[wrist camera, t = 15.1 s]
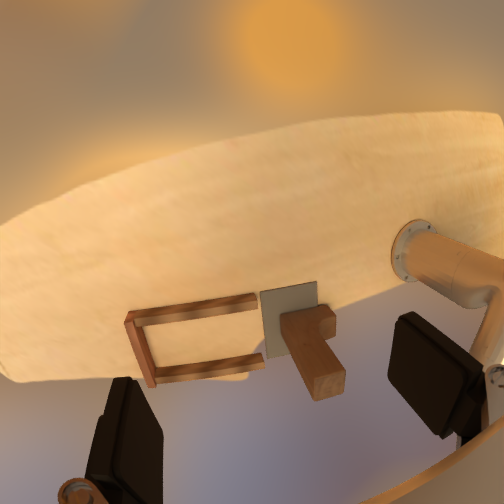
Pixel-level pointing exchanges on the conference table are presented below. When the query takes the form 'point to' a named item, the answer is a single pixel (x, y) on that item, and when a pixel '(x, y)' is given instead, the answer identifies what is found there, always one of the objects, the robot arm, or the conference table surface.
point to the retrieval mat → (282, 303)
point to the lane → (184, 313)
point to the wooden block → (314, 350)
